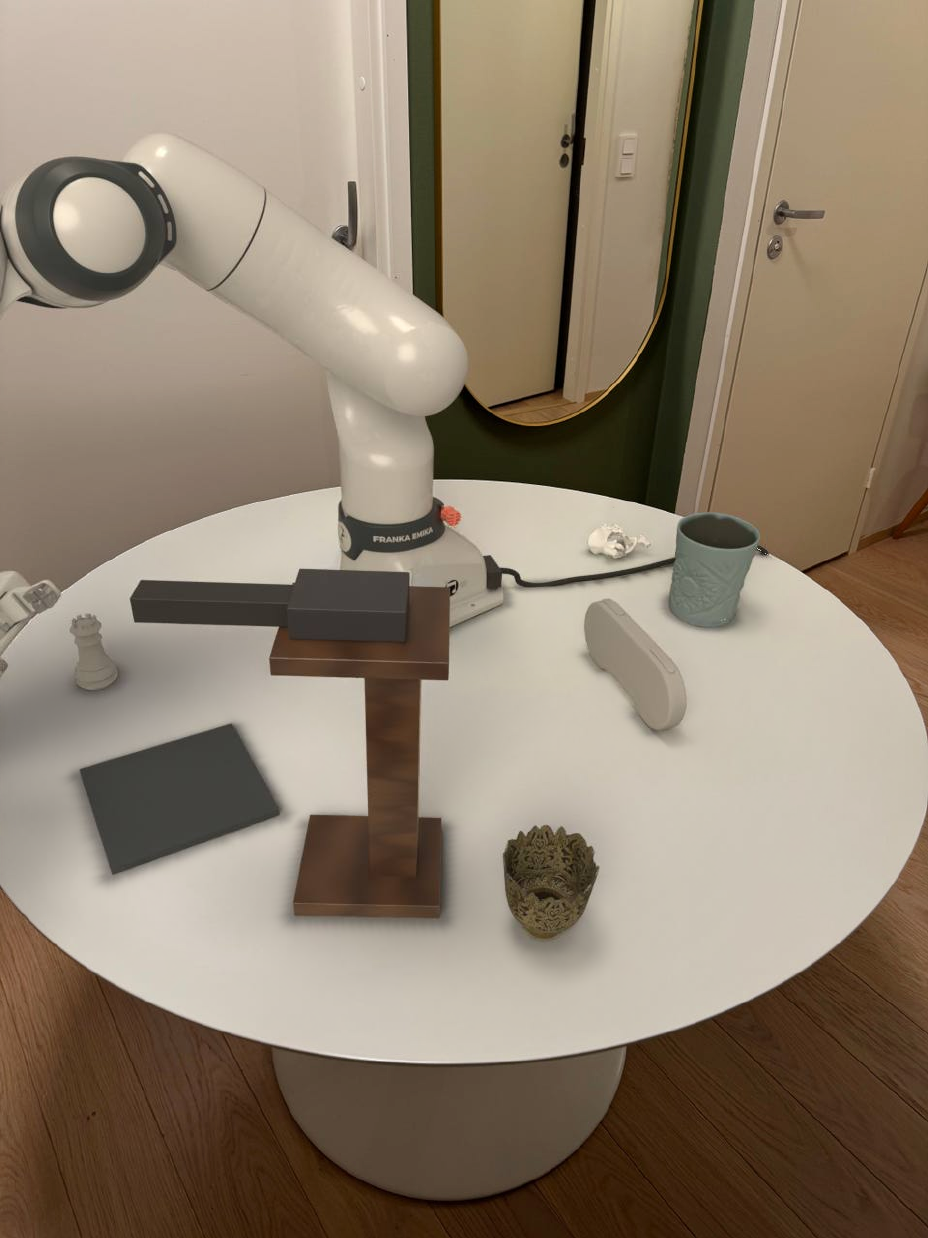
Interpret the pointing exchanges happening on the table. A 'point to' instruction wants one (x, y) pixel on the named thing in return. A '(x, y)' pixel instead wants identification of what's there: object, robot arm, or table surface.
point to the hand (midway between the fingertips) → (26, 625)
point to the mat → (175, 796)
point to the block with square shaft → (287, 604)
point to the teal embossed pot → (710, 567)
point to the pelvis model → (600, 544)
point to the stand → (377, 772)
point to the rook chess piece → (91, 655)
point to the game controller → (635, 664)
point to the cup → (548, 880)
